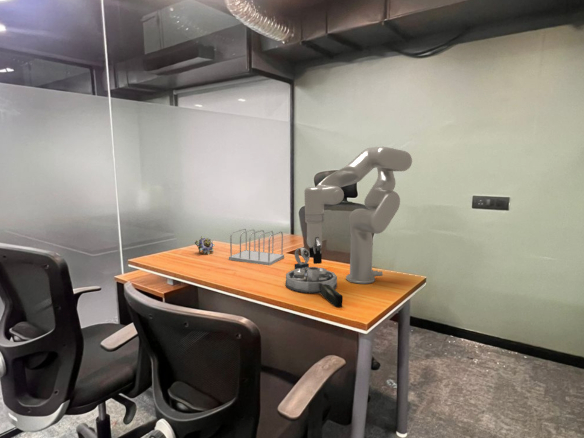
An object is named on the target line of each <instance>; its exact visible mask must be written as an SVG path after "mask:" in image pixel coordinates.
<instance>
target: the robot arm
mask: <svg viewBox="0 0 584 438" xmlns="http://www.w3.org/2000/svg"><path fill="white" fill-rule="evenodd" d="M412 163H413V158H412V156H411V154H410V153H409V152H408V151H406V150H402V149H397V148H391V147H388V146H375V147H368V148H365V149H364V150H362V151H361V152H360V153H359V154H358V155H357V156H355V158H354V159H352V160H351V161H350V162H349V163H348V164H346V165H345V166H344V167H342V168H339V169H338V170H336V171H334V172H333V173H330V174H329V175H327V176H326V177H324V179H322V180H321V181H320V182H318V184H317V185H316V186H308V187H306V188H305V189H304V220H305V221H304V222H305V223H306V244H307V246H308V247H309V249H308V251H309V255H310V258H312V261H313V262H312V263H313V264H314V265H317V264H318V265H319V264H322V256H323V255H322V247H323V227H322V224H323V223H324V222H325V205H331V206H332V205H337V204H340V203H341V202H343V199H344V197H345V194H344V193H345V192H344V190H343V189H342V188H343V187H346V186H350V185H354V184H356V183H359V182H361V181H362V180H363V179H364V178H365V177H366V176H367V175H368V174H369V173H370V172H371V171H372V170H374V169H375V168H376V169H377V179H376V181H375V182H374V184H373V185H372V187H371V189H369V191H368V193H367V194H366V196H365V198H364V203H363V205H364V206H365V208H356V209H354V210H353V211H351V213H350V214H349V218H348V223H349V230H350V252H349V253H350V254H349V255H350V256H349V260H350V261H349V274H347V275H345V279H346V280H347V281H348V282H350V283H353V284H361V285H362V284H363V285H367V284H373V283H374V282H376V277H383V274H384V273H383V271H378V270H373V251H374V250H373V247H374V241H373V240H374V239H373V234H377V235H378V234H379V235H380V234H382V233H383V232H384V231H385V230H386V229H387V228H388V226H389V225H390V223H391V222H392V221H393V219H394V217H395V216H396V213H397V212H398V211H399V208H400V205H401V198H400V195H399V194H398V193H397V192H396V191H395V190H394V189H395V187H396V178H395V174H394V172H406V171H407V170H409V169H410V168H411V166H412V165H413V164H412Z"/></svg>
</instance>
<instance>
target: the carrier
mask: <svg viewBox="0 0 584 438" xmlns="http://www.w3.org/2000/svg"><path fill="white" fill-rule="evenodd" d="M318 268H319V269H320V270H319V281H320V282H323V281H327V280H331V279H328V276H327V275H326V272H327V269H326V268H325V267H318ZM293 270H294V276H292V279H295V280H297V281H303V282H307V276H305V270H304V269H301V268H297V269H295V268H294V269H293ZM337 285H338V283H337V284H336V285H335V286H334V287H333V289H334V290H336V289H337V287H338V286H337ZM285 288H286V289H288V290H290V291H293V292H295V293H300V294H309V295H312V294H314V295H315V294H316V295H317V294H319V292H321V293H322V290H313V291H307V290H301V289H295V288H293V287H291V286H288V285H287V282H286V281H285Z"/></svg>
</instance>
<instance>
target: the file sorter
mask: <svg viewBox="0 0 584 438" xmlns="http://www.w3.org/2000/svg"><path fill="white" fill-rule="evenodd" d="M241 231H242V232H241ZM251 231H253V232H251ZM238 232H241V233H240V235H239V252H237V253H235V254H233V250H232V248H233V246H232V245H233V244H232V238H233V237H232V236H233V234H234V233H238ZM248 232H251V233H250V234H249V237H248V234H247V233H248ZM260 232H262V233H260ZM257 233H260V234H259V235H258V244H257V245H258V250H256V234H257ZM270 233H272V234H270ZM243 234H245V250H242V236H243ZM266 234H270V235H269V237H268V247H267V248H268V250H267V251H268V252H265V241H266V240H265V236H266ZM277 234H281V247H280V249H281V254H280V253H274V243H275V242H274V241H275V239H274V236H275V235H277ZM252 235H253V250H251V239H252V238H251V237H252ZM261 236H263V238H262V239H263V240H262V241H263V243H262V247H263V248H262V251H261V248H260V247H261V243H260V241H261V240H260V239H261ZM271 237H272V243H271ZM247 239H248V240H247ZM229 241H230V255H229V256H228V261H234V262H243V263H250V264H257V265H263V266H264V265H265V266H271V265H273V264H275V263H277V262H279V261H281V260H282V259H284V258H285V254H284V253H283V248H284V246H283V245H284V243H283V242H284V234H283V231H281V230H280V231H277V232H273V230H270V231H269V230H268V231H265V230H263V229H260V230H257V231H256V230H255V229H254V228H252V229H248V230H247V229H246V228H241V229H238V230H234V231H231V233H230V237H229ZM247 245H248V247H247ZM271 245H272V246H271ZM270 247H271V248H272V249H270ZM270 251H271V252H270Z"/></svg>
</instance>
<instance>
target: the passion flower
mask: <svg viewBox="0 0 584 438" xmlns="http://www.w3.org/2000/svg"><path fill="white" fill-rule="evenodd" d="M194 244H195V245H196V247H197V248H198V251H199V253H200V252H201V251H202V253H203V254H204V255H205V254H207V255H208V254H209V255H210V252H214V247H215V246H216V245H215V243H214V242H213V241H212V240H211V239H209V237H204V236H200V239H199V240H195V242H194Z"/></svg>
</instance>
